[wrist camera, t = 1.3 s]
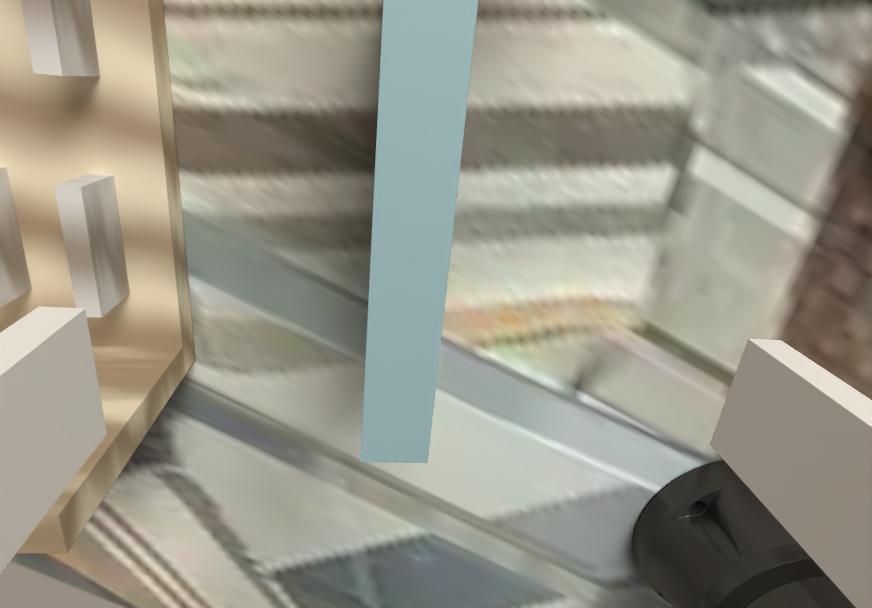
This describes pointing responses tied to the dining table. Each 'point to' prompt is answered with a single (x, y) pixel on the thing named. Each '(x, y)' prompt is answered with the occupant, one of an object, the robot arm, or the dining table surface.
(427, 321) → the door
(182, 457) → the dining table surface
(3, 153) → the hinge base
